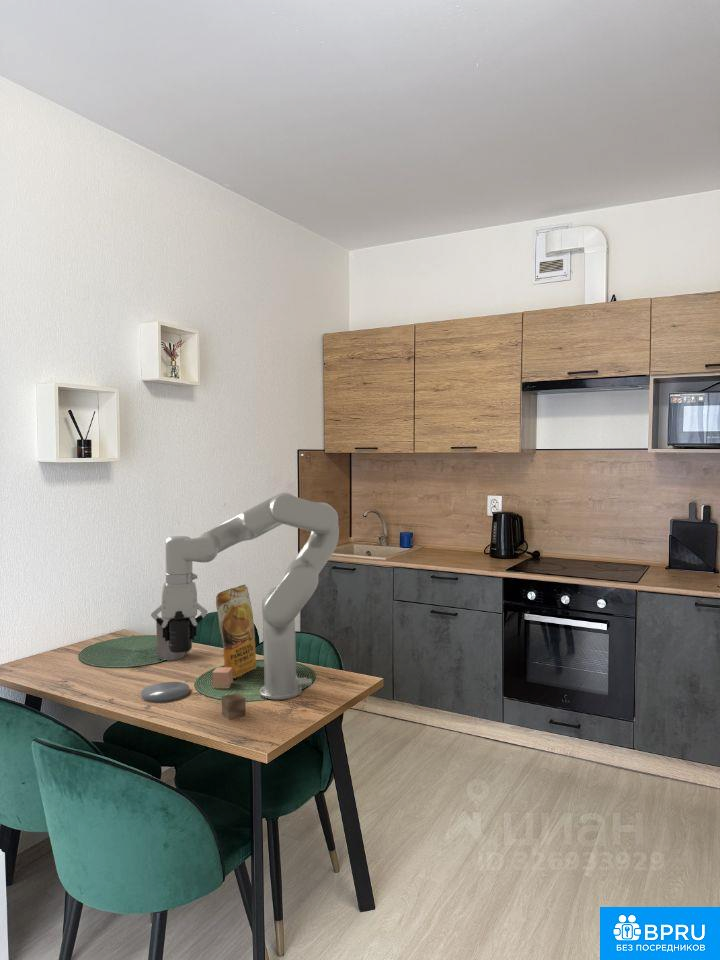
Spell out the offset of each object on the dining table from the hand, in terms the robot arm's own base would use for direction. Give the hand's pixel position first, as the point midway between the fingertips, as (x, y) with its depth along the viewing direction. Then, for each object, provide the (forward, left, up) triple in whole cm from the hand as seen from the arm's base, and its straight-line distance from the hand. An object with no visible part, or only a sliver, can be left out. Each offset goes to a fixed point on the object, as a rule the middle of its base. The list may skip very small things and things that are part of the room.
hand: (179, 638), depth 199 cm
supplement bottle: (0, 0, -3) cm, 3 cm away
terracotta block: (-12, -10, -18) cm, 24 cm away
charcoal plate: (+5, -7, -18) cm, 20 cm away
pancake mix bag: (-17, -21, -18) cm, 32 cm away
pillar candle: (+6, -45, -18) cm, 49 cm away
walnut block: (-15, +15, -18) cm, 28 cm away
